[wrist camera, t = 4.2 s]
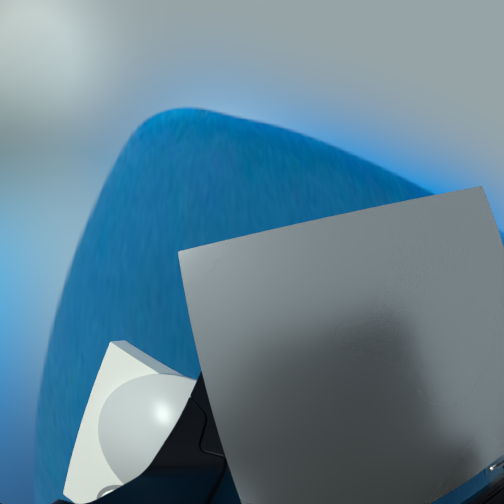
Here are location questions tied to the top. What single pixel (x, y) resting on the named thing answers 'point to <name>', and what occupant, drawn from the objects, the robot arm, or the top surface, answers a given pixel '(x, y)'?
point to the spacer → (355, 351)
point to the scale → (124, 421)
